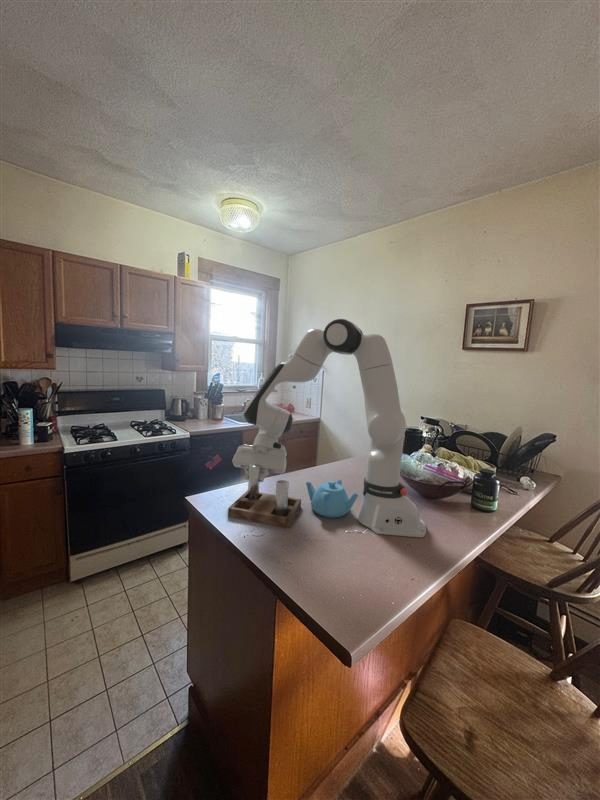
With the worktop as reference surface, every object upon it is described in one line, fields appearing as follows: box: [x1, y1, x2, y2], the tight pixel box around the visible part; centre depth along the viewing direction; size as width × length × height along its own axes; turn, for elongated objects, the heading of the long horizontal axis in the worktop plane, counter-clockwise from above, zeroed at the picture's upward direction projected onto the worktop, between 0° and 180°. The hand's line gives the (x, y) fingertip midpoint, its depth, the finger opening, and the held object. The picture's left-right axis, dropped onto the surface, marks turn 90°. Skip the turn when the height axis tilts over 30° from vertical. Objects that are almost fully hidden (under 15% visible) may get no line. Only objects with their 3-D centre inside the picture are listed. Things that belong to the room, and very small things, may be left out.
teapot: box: [305, 479, 359, 519], centre depth 116 cm, size 15×15×11 cm
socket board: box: [227, 489, 302, 529], centre depth 111 cm, size 21×16×3 cm
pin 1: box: [247, 464, 261, 500], centre depth 116 cm, size 4×4×13 cm
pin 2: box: [275, 479, 290, 517], centre depth 105 cm, size 4×4×13 cm
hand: (253, 480), depth 115 cm, fingers closed on pin 1, 4 cm apart
